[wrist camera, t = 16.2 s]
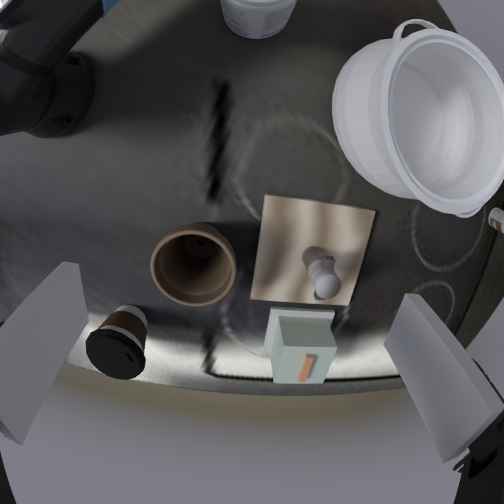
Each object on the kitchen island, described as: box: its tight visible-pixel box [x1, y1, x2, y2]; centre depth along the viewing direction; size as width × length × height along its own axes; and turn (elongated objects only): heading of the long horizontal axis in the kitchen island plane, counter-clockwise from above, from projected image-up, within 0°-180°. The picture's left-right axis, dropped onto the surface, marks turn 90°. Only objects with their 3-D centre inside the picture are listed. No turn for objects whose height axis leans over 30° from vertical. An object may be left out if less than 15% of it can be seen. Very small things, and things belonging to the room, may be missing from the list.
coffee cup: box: [86, 305, 147, 380], centre depth 47 cm, size 11×11×12 cm
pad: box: [262, 306, 335, 358], centre depth 55 cm, size 12×12×1 cm
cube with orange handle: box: [270, 316, 338, 383], centre depth 50 cm, size 9×9×9 cm
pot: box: [332, 19, 504, 218], centre depth 32 cm, size 26×24×17 cm
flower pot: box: [151, 222, 236, 306], centre depth 42 cm, size 12×11×10 cm
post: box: [251, 193, 375, 305], centre depth 43 cm, size 18×18×11 cm
